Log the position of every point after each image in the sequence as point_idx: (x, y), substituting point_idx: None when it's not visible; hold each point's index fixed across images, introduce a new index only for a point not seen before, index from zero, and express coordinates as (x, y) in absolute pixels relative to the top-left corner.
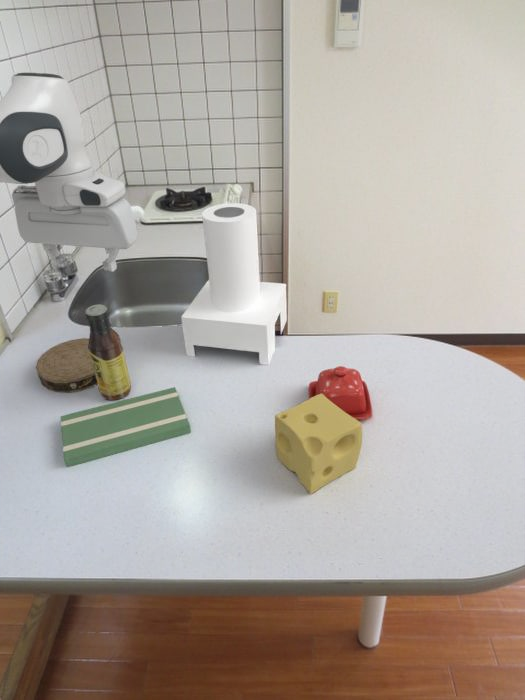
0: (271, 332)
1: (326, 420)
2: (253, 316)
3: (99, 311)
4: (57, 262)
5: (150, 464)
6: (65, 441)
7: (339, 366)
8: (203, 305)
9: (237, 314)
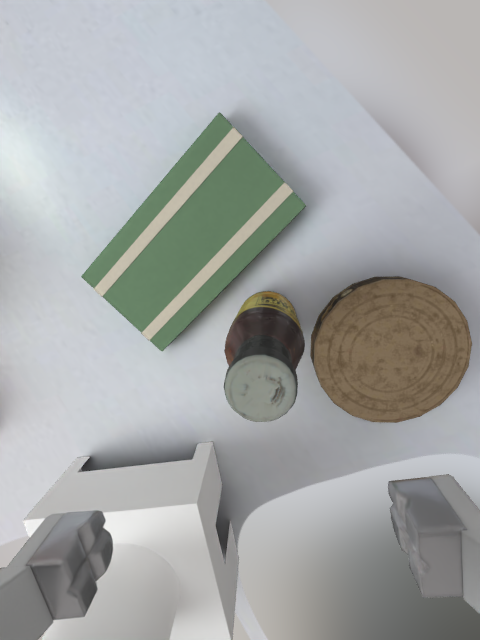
0: None
1: None
2: None
3: (242, 384)
4: (436, 503)
5: (102, 187)
6: (248, 151)
7: None
8: (179, 551)
9: None
